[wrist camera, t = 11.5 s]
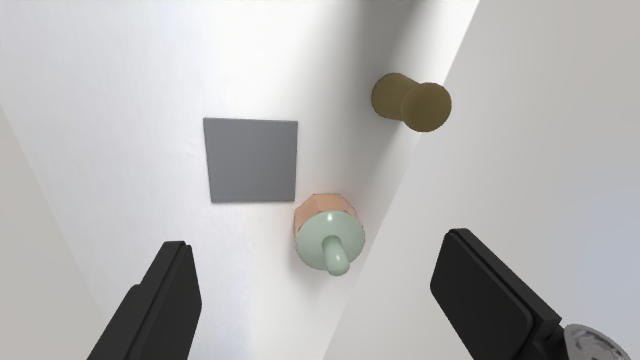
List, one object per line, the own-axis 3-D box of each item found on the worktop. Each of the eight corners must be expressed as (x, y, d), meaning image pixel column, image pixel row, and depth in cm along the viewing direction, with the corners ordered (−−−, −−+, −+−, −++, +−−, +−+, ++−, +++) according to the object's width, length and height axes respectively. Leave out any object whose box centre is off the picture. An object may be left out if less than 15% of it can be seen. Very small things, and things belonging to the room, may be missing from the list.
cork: (365, 113, 38) (397, 133, 28) (379, 67, 36) (419, 73, 26) (404, 121, 40) (447, 144, 30) (419, 78, 37) (471, 87, 28)
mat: (204, 117, 35) (203, 118, 35) (297, 121, 37) (297, 122, 37) (212, 199, 40) (211, 201, 40) (294, 199, 42) (294, 200, 42)
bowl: (295, 194, 42) (298, 211, 37) (356, 193, 44) (365, 209, 39) (293, 245, 46) (295, 266, 41) (349, 243, 47) (357, 263, 43)
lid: (296, 210, 37) (300, 236, 32) (367, 208, 39) (382, 233, 34) (295, 267, 41) (298, 299, 36) (358, 263, 43) (370, 293, 38)
